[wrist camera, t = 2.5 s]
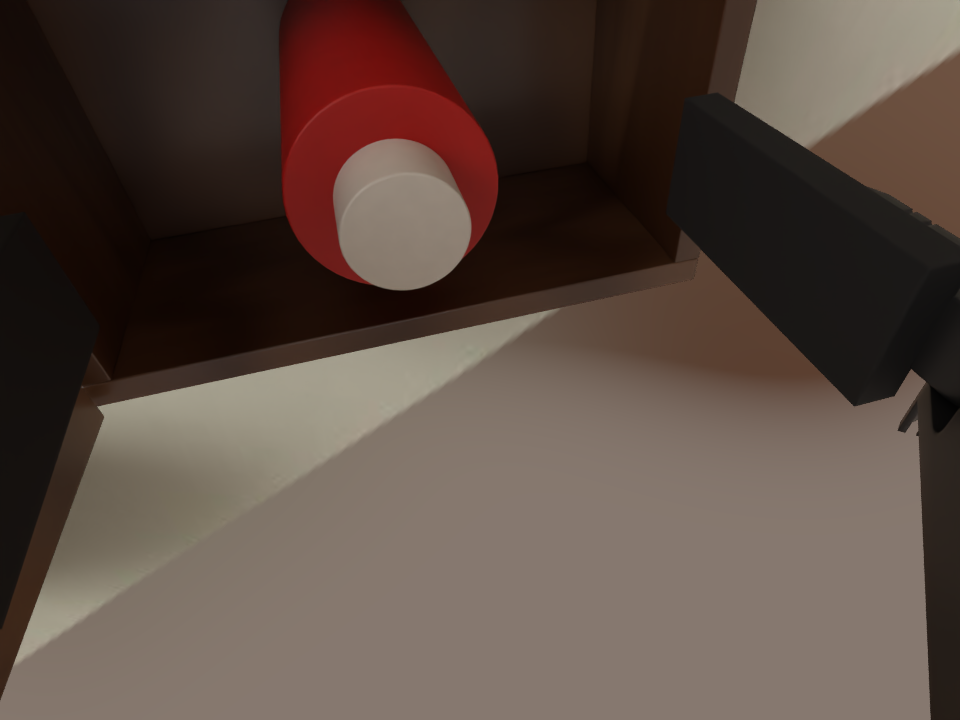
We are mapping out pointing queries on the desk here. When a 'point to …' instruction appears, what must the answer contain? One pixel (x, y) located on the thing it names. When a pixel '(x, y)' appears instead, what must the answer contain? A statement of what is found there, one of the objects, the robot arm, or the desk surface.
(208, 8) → the storage box
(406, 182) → the bottle
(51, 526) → the lid
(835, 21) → the desk surface
